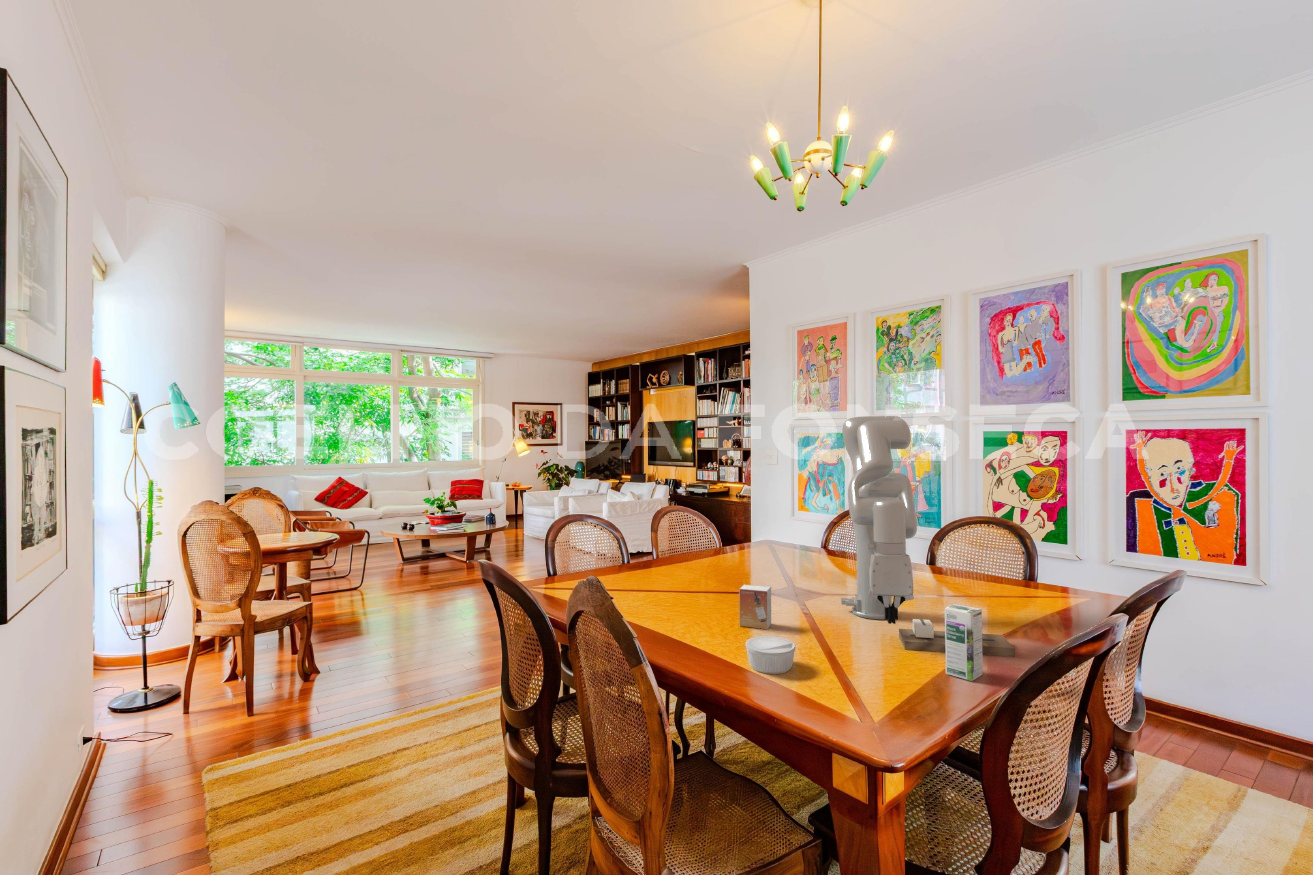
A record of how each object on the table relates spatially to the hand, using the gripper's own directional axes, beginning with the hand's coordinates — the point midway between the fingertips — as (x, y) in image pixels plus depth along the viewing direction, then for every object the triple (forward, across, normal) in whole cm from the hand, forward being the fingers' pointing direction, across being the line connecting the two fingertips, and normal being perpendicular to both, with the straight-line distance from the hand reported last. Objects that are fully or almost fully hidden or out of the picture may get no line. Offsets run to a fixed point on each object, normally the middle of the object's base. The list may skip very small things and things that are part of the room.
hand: (891, 622), depth 151 cm
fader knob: (+3, +7, +1) cm, 8 cm away
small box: (+5, -35, +8) cm, 36 cm away
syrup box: (+6, +12, -18) cm, 23 cm away
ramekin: (+6, -29, -22) cm, 37 cm away
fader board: (+5, +14, +1) cm, 15 cm away
